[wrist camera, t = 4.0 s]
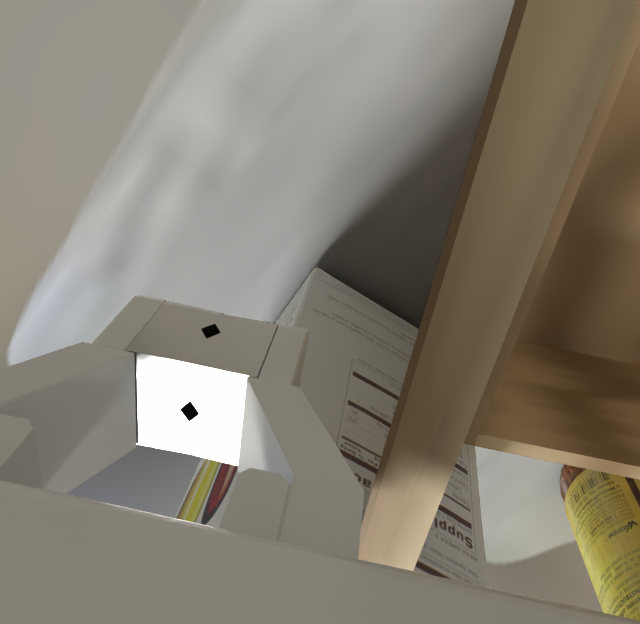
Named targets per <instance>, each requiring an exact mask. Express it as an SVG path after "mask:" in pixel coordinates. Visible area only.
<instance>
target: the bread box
mask: <svg viewBox="0 0 640 624" xmlns="http://www.w3.org/2000/svg"><path fill="white" fill-rule="evenodd" d="M463 444H468V445H473V446H478V447H483V448H488V449H492V450H497V451H502V452H507V453H512V454H517V455H522V456H527V457H531V458H536V459H541V460H546V461H551V462H556V463H561V464H566V465H570V466H575V467H580V468H585V469H590V470H595V471H600V472H605V473H609V474H614V475H619V476H624V477H629V478H634V479H639V480H640V0H638V1H637V3H636V6H635V9H634V11H633V14H632V16H631V19H630V21H629V24H628V26H627V29H626V31H625V34H624V37H623V39H622V42H621V44H620V47H619V49H618V52H617V54H616V57H615V59H614V62H613V64H612V67H611V70H610V72H609V75H608V77H607V80H606V82H605V85H604V87H603V90H602V92H601V95H600V98H599V100H598V103H597V105H596V108H595V110H594V113H593V115H592V118H591V120H590V123H589V125H588V128H587V131H586V133H585V136H584V138H583V141H582V143H581V146H580V148H579V151H578V153H577V156H576V159H575V161H574V164H573V166H572V169H571V171H570V174H569V176H568V179H567V181H566V184H565V186H564V189H563V192H562V194H561V197H560V199H559V202H558V204H557V207H556V209H555V212H554V214H553V217H552V220H551V222H550V225H549V227H548V230H547V232H546V235H545V237H544V240H543V242H542V245H541V248H540V250H539V253H538V255H537V258H536V260H535V263H534V265H533V268H532V270H531V273H530V275H529V278H528V281H527V283H526V286H525V288H524V291H523V293H522V296H521V298H520V301H519V303H518V306H517V309H516V311H515V314H514V316H513V319H512V321H511V324H510V326H509V329H508V331H507V334H506V336H505V339H504V342H503V344H502V347H501V349H500V352H499V354H498V357H497V359H496V362H495V364H494V367H493V370H492V372H491V375H490V377H489V380H488V382H487V385H486V387H485V390H484V392H483V395H482V397H481V400H480V403H479V405H478V408H477V410H476V413H475V415H474V418H473V420H472V423H471V425H470V428H469V431H468V433H467V436H466V438H465V441H464V443H463Z"/></svg>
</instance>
